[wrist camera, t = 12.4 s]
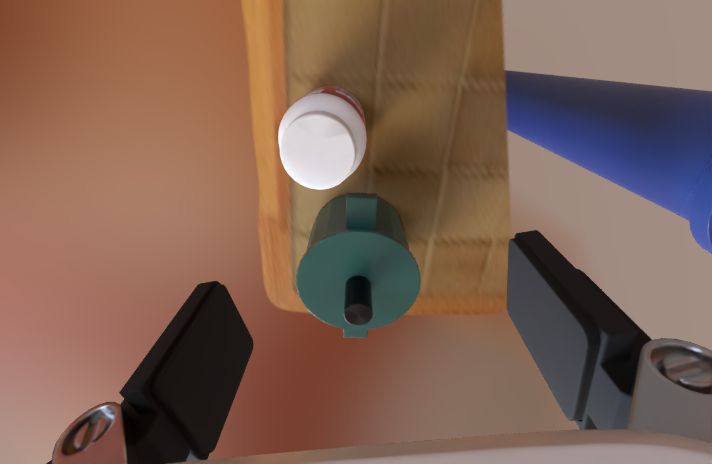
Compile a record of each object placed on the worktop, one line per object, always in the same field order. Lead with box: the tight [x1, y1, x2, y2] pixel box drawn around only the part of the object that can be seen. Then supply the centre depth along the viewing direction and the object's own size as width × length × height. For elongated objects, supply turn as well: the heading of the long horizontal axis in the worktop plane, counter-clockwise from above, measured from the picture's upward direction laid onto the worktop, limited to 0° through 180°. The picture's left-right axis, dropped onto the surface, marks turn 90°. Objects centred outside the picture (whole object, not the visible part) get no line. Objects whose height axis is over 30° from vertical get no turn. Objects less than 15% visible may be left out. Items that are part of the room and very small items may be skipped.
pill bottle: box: [278, 86, 367, 189], centre depth 24 cm, size 6×6×11 cm
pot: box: [306, 193, 409, 338], centre depth 31 cm, size 10×15×8 cm, turn 178°
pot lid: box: [296, 229, 420, 330], centre depth 26 cm, size 11×11×5 cm
